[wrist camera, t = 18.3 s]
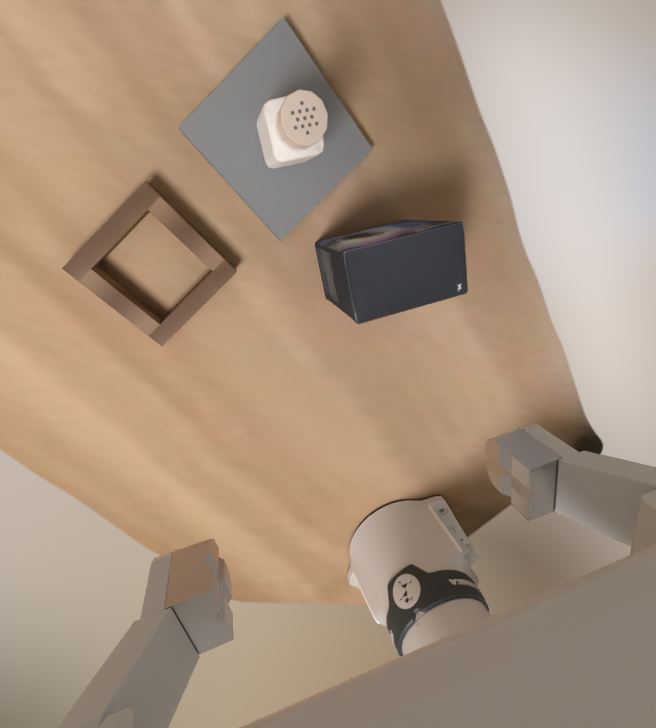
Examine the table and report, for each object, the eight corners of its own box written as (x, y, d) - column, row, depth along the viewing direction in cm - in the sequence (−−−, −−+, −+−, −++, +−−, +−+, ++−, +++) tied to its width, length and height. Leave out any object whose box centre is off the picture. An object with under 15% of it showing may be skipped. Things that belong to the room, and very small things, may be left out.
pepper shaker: (253, 118, 32) (266, 87, 24) (299, 110, 33) (327, 76, 25) (266, 170, 34) (282, 158, 26) (309, 161, 35) (339, 146, 26)
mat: (369, 150, 37) (373, 149, 36) (279, 240, 37) (280, 240, 37) (281, 22, 31) (283, 17, 30) (179, 129, 32) (178, 127, 31)
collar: (235, 268, 37) (236, 271, 36) (164, 339, 38) (162, 346, 36) (148, 183, 33) (144, 181, 31) (70, 265, 34) (62, 268, 32)
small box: (408, 214, 40) (467, 217, 31) (415, 276, 43) (471, 295, 33) (312, 239, 38) (343, 249, 29) (325, 301, 41) (357, 329, 32)
